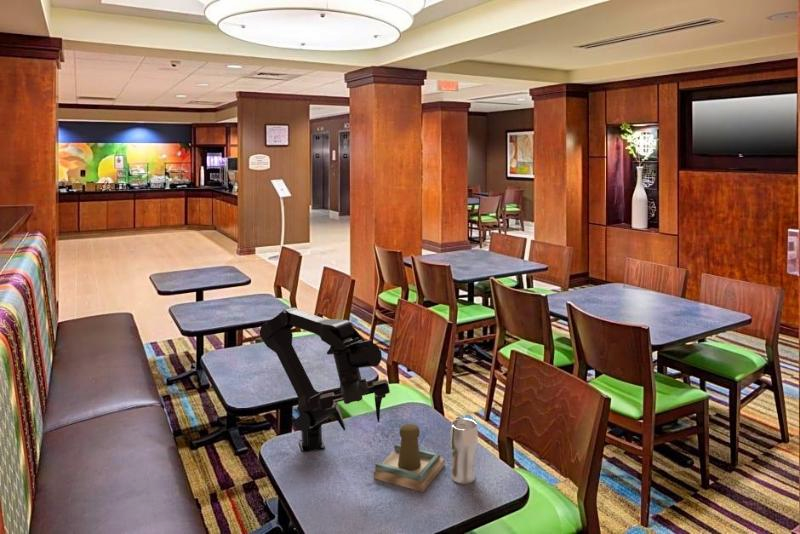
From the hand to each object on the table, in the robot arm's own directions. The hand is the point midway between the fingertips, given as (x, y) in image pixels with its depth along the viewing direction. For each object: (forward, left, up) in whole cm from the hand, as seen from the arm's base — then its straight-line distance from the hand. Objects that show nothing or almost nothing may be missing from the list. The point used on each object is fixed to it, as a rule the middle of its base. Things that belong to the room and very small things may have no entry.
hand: (361, 425), depth 157 cm
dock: (+7, +11, -12) cm, 17 cm away
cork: (+7, +11, -10) cm, 16 cm away
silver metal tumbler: (+14, +23, -12) cm, 30 cm away
